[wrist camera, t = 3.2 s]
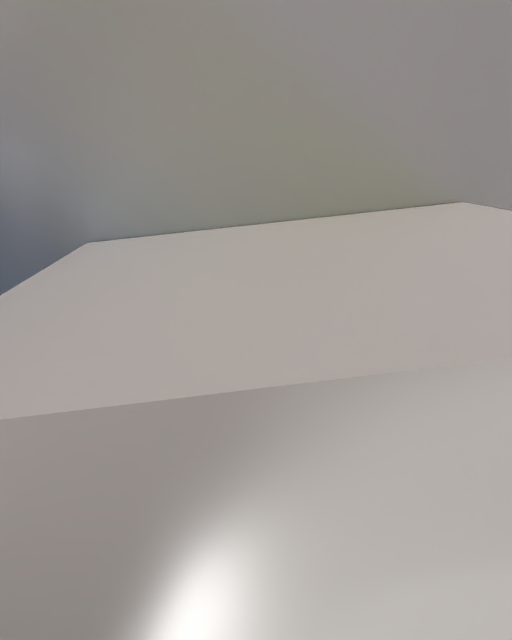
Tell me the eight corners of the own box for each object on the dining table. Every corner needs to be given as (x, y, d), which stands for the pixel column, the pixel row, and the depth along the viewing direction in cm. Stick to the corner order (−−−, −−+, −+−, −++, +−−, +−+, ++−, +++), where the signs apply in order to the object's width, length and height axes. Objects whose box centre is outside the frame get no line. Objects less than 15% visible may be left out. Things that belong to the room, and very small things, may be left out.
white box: (155, 534, 15) (73, 983, 7) (87, 242, 12) (-256, 450, 3) (442, 497, 15) (694, 884, 7) (463, 202, 12) (1007, 298, 4)
